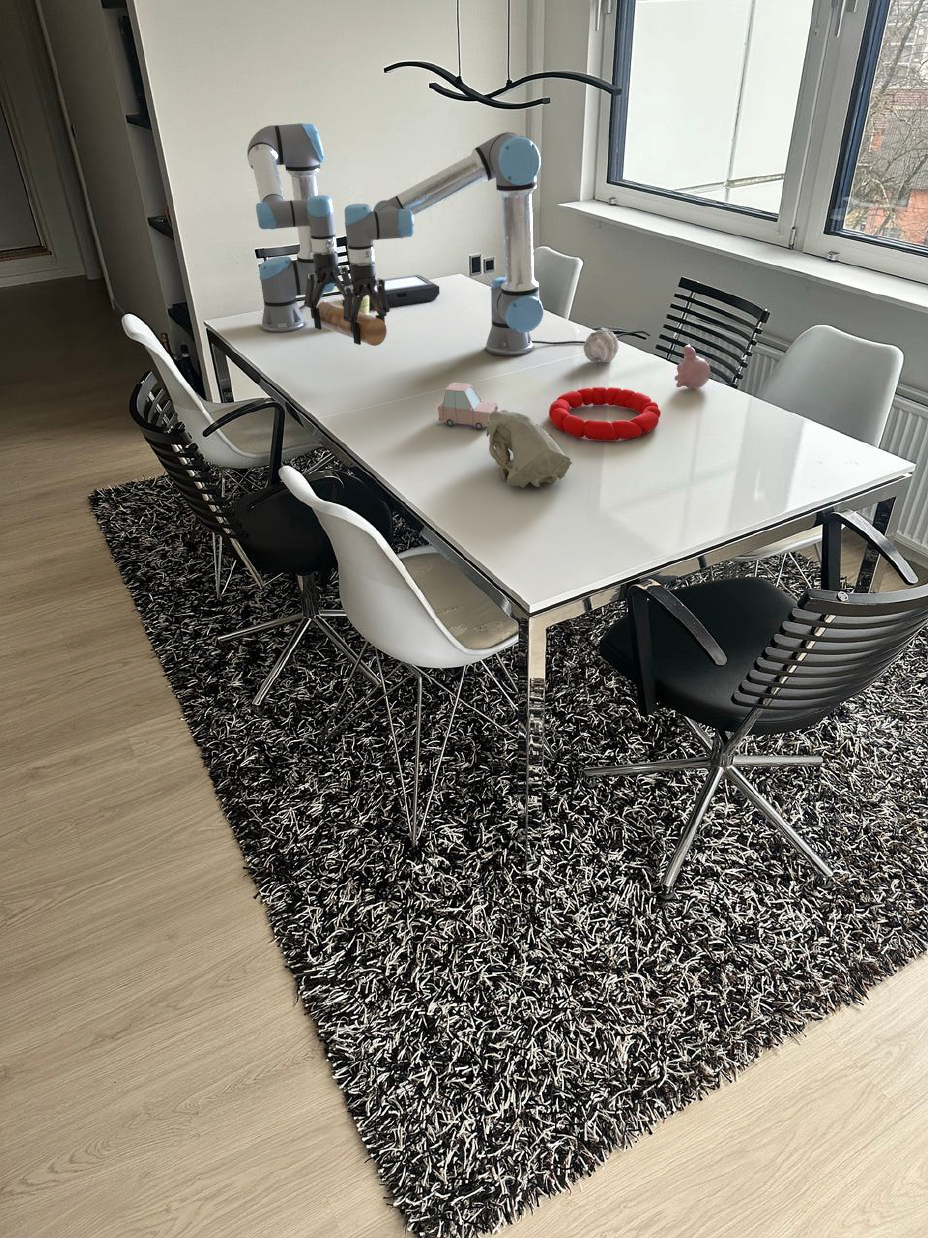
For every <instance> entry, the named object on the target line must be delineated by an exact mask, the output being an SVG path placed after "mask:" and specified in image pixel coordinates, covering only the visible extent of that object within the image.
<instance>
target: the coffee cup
mask: <svg viewBox="0 0 928 1238" xmlns="http://www.w3.org/2000/svg"><path fill="white" fill-rule="evenodd" d="M349 278H350V280H351V282H352V279H351V277H349ZM342 284H343V286H345V284H344V283H342ZM358 297H359V296H358ZM353 299H354V298H353ZM352 303H353V300H352ZM359 312H361V313H364V314H366V315H369V313H370V310H369V296H368V295H366V296H365V297H363V300H362V301H361V305H360V309H359ZM369 316H370V315H369Z"/></svg>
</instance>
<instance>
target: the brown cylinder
mask: <svg viewBox="0 0 928 1238" xmlns="http://www.w3.org/2000/svg"><path fill="white" fill-rule="evenodd" d="M317 308H319V312H320V320H321V327H323V328H325V329H328V330H331V331H333V332H336V333H339V334H341V335H344V336H347V337H349V338H352V339H354V338H353V333H351V329H350V322H347V321H344V319H343V318H344V306H343V305H340V304H338V303H335V302H332V301H329V300H323V301H321V302H320V303H318V305H317ZM357 322H358V323H359V328H360V339H361V343H365V344H367V345H370V346H372V347H373V346H374V347H377V346H379V345H381V344H382V343H383V342H384V341H385V339H386V336H387V325H386V322H385V323H384V322H383V321H382V320H381V319H378V318H376V317H375V316H373V315H366V314H364V313H361V312H359V313H358V317H357Z"/></svg>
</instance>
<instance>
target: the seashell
mask: <svg viewBox="0 0 928 1238" xmlns="http://www.w3.org/2000/svg"><path fill="white" fill-rule="evenodd" d="M616 336H617V335H616V334H614V332H613V331H612V330H603V329H600V330H599V329H597V330H596V331H594V332H591V333H590V334H589V335H588V336H587V338H586V339H585V341H586V342H585V344H584V343H583V347H582V348H583V353H584V355H585V357H586V358H587V360H589V361H591V362H593V363H598V362H602V363H606V362H608V363H609V362H611V361H613V359H614V358H615V357H616V355H617V353H618V352H619V349H620V346H619V345H620V344H619V343H620V342H619V340H618V338H616Z"/></svg>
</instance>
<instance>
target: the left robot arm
mask: <svg viewBox="0 0 928 1238" xmlns="http://www.w3.org/2000/svg"><path fill="white" fill-rule="evenodd" d="M246 156H247V161H248V164H249V167H250V169H252V171H253V174H254V179H255V183H256V187H257V193H258V197H259V201H260V202H257V203H256V205H255V212H256V218H257V223H258V227H259V229H262V230H278V229H287V228H289V229H290V228H297V233H298V234H297V235H298V242H299V251H298V252H297V254H296V260H292V258H291V257H290V256H277V257H272V258H269V259H267V260H264V261H263V262H261V263H260V265H259V266H258V270H259V280H260V285H261V286H260V287H261V292H262V299H263V313H262V319H261V326H262V330H264V331H265V332H271V333H286V332H293V331H296V330H297V331H298V330H300V329H302V328H304V326H305V319H304V317H303V314H302V312H301V310H302V309H303V308H305V307H306V308H309V310H310V316H311V319H313V324H314V328H315V329H317V330H320V331H321V330H322V326H321V320H320V312H319V308H317V306H318V305H319V302H320V299H321V298H322V297H323V296H324V294H327V293H332V292H333V291H334V289H335V287H336V288H337V290H338V291H339V293H340V294H341V295H342V297H343V298H344V292H343V287H344V286H343V284H345V286H346V287H347V286H349V285H351V280H350V278H351V277H350V275H349V268H348V266H345V265H340V266H339V264H340V263H339V256H338V255H339V253H338V252H337V250H338V245H337V236H336V228H335V227H336V226H335V216H334V205H333V200H332V198H331V197H330V196H328V195H319V194H320V193H319V184H318V183H319V182H318V176H317V175H318V173H319V171H320V170H321V164H322V163H324V162H325V157H324V156H325V155H324V149H323V145H322V140H321V137H320V133H319V131H318V128H317V127H316V125H315V124H313V123H300V122H299V123H290V124H288V123H287V124H276V125H274V124H273V125H267V126H264V127H262V128H261V129H259V130H258V131H257V132H255V134H253V136H252V138H251V139H250V141H249V143H248V146H247V152H246ZM278 166H284V167H285V171H286V172H287V173H288V174H289V175H290V177H291V186H292V193H293V194H292V195H293V199H292V200H290V199H289V200H286V198H285V195H284V190H283V186H282V182H281V178H280V174H279V170H278ZM339 274H340V276H341V278H342V281H343V283H342V281H341V279H340V277H339ZM352 291H353V293H352V300H353V294H354V290H352ZM297 296H304V300H303V301H304V302H303V304H302V305H301V306H298V305H299V304H298V303H297ZM342 306H344V299H342Z"/></svg>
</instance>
